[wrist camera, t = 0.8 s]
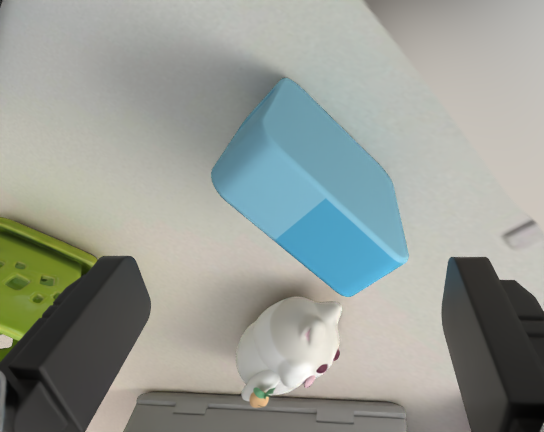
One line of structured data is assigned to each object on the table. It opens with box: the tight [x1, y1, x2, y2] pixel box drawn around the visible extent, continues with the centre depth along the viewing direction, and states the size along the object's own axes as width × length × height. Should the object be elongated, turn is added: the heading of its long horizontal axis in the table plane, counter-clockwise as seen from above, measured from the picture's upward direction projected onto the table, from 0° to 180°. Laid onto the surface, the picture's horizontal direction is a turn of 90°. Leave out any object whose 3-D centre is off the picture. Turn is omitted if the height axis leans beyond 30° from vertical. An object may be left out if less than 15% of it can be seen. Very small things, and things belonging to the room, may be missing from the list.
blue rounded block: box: [211, 78, 409, 297], centre depth 26 cm, size 12×4×12 cm, turn 48°
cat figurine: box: [236, 297, 342, 408], centre depth 39 cm, size 10×8×15 cm
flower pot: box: [0, 217, 98, 362], centre depth 39 cm, size 14×14×13 cm
